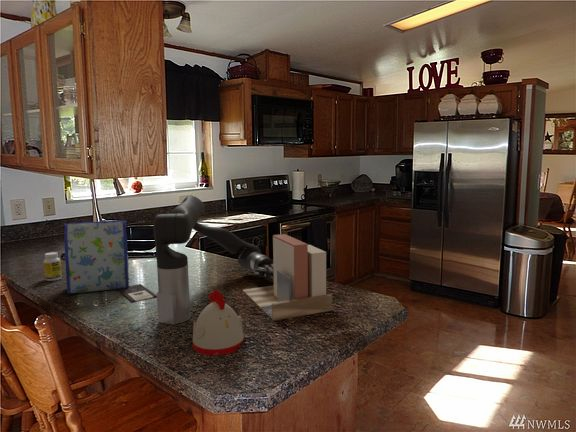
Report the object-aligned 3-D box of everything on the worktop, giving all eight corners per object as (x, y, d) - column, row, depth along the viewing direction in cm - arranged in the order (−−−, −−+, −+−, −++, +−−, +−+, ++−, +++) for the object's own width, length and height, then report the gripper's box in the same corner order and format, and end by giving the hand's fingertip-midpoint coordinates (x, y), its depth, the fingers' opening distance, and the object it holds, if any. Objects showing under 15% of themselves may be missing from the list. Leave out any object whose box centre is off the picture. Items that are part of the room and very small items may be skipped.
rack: (242, 292, 159) (242, 276, 158) (291, 285, 167) (291, 270, 166) (274, 323, 130) (273, 304, 129) (332, 313, 138) (332, 295, 137)
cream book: (296, 300, 147) (295, 246, 144) (309, 297, 149) (309, 244, 146) (311, 311, 136) (311, 253, 134) (326, 309, 138) (326, 251, 136)
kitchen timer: (206, 360, 108) (203, 303, 105) (184, 341, 119) (181, 289, 116) (253, 345, 116) (252, 292, 113) (229, 328, 127) (227, 280, 124)
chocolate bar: (140, 283, 169) (156, 295, 155) (140, 286, 169) (157, 298, 155) (116, 288, 164) (131, 301, 150) (117, 290, 164) (131, 303, 150)
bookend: (261, 307, 140) (260, 272, 138) (279, 305, 143) (278, 270, 141) (272, 318, 131) (271, 280, 129) (291, 315, 134) (291, 278, 132)
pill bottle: (54, 281, 175) (52, 255, 174) (41, 281, 177) (38, 254, 175) (65, 277, 181) (63, 251, 180) (52, 276, 183) (50, 251, 181)
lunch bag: (130, 278, 179) (126, 216, 175) (131, 289, 164) (126, 222, 160) (71, 284, 171) (65, 220, 168) (66, 297, 156) (59, 226, 152)
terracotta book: (273, 296, 151) (272, 235, 148) (285, 294, 153) (284, 234, 150) (294, 313, 135) (294, 245, 132) (307, 311, 137) (307, 243, 133)
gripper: (245, 257, 164) (261, 268, 148) (278, 254, 169) (296, 264, 153) (246, 276, 165) (262, 289, 149) (278, 272, 170) (296, 284, 154)
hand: (279, 276), depth 151 cm, fingers closed
